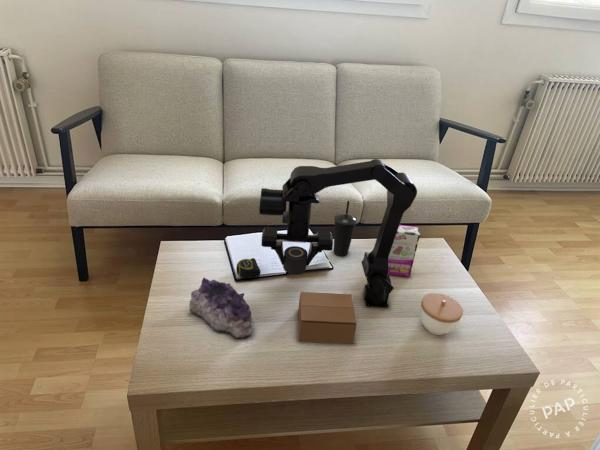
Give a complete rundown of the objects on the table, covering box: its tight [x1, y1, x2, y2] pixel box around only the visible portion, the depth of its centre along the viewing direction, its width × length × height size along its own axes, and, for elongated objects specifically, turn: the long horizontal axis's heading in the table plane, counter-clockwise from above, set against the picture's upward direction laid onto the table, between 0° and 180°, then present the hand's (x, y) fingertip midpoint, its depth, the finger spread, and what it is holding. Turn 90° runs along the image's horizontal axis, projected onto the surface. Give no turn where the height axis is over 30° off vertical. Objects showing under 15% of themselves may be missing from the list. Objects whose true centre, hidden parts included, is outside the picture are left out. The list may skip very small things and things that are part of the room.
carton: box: [297, 296, 358, 345], centre depth 109 cm, size 14×11×7 cm
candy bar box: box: [388, 224, 421, 278], centre depth 131 cm, size 11×5×16 cm, turn 84°
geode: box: [188, 277, 254, 340], centre depth 109 cm, size 20×12×10 cm, turn 53°
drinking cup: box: [333, 200, 358, 258], centre depth 137 cm, size 8×8×20 cm
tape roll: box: [282, 245, 308, 275], centre depth 114 cm, size 6×6×5 cm
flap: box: [299, 291, 355, 309], centre depth 110 cm, size 14×5×1 cm, turn 91°
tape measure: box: [235, 257, 261, 279], centre depth 127 cm, size 7×7×4 cm
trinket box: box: [419, 292, 464, 336], centre depth 112 cm, size 11×11×9 cm
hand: (295, 264), depth 114 cm, fingers closed on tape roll, 6 cm apart
